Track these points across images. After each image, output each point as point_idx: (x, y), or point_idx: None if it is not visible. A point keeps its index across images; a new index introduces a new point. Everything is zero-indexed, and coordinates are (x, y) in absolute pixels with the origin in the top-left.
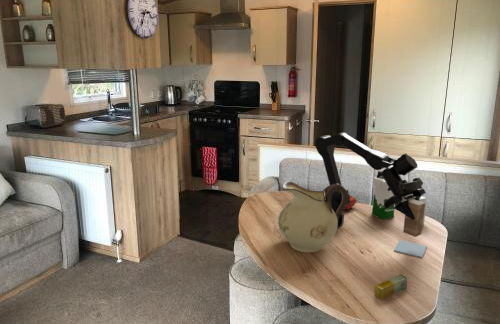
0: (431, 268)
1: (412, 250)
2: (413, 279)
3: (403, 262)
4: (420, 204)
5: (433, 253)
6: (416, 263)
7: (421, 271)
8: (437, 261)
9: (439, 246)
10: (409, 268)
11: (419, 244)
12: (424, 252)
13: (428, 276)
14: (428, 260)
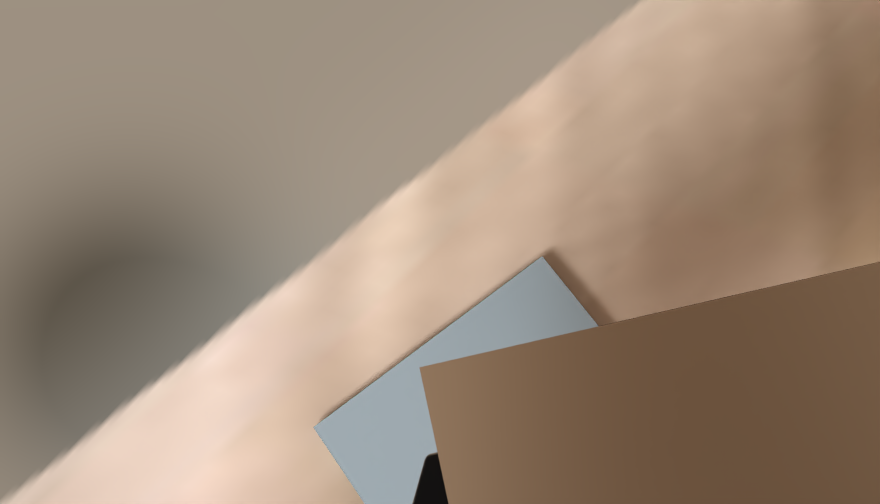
0: (599, 93)
1: None
2: (869, 19)
3: (775, 262)
4: (856, 288)
5: (360, 293)
6: (666, 204)
7: (719, 86)
8: (451, 163)
9: (172, 389)
10: (789, 159)
11: (358, 491)
12: (438, 334)
13: (717, 11)
14: (516, 206)
